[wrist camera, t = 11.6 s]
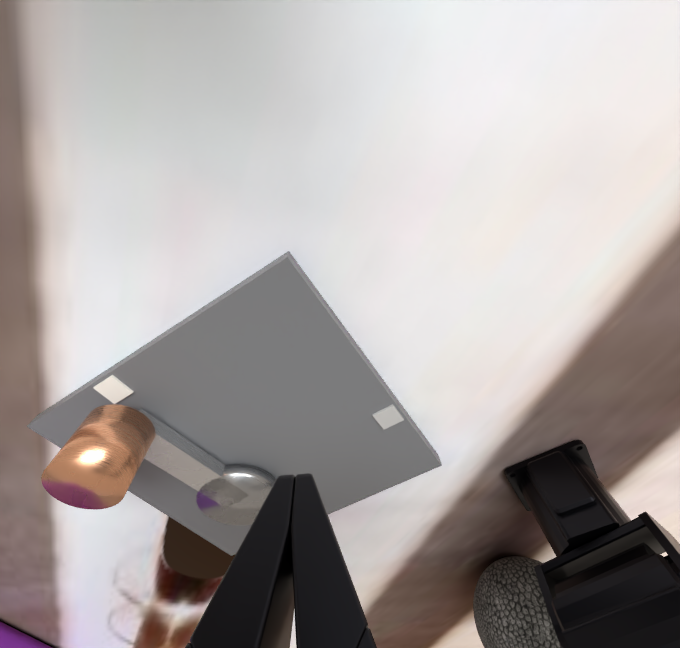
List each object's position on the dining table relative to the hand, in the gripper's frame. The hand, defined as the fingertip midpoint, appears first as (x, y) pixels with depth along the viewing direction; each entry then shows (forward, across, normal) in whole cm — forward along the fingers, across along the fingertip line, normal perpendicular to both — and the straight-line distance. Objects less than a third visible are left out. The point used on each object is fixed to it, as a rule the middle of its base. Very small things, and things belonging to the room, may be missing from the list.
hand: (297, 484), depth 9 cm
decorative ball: (+13, -18, +33) cm, 40 cm away
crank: (+12, +9, +13) cm, 20 cm away
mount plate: (+13, +5, +12) cm, 19 cm away
